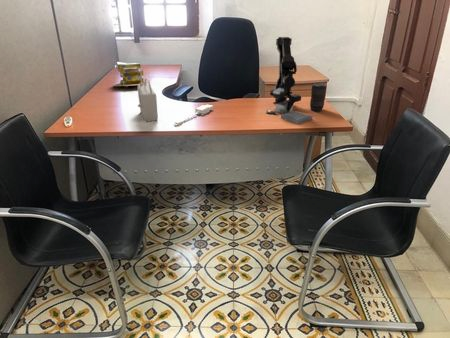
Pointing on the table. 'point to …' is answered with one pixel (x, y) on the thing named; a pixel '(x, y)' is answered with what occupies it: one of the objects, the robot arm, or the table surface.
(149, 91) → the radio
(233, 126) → the table surface
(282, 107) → the box
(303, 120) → the stand
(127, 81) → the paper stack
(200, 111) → the white brush
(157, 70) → the table surface
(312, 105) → the camera lens
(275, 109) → the loose bolt
